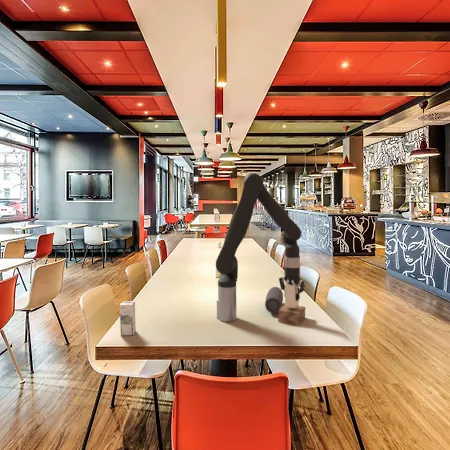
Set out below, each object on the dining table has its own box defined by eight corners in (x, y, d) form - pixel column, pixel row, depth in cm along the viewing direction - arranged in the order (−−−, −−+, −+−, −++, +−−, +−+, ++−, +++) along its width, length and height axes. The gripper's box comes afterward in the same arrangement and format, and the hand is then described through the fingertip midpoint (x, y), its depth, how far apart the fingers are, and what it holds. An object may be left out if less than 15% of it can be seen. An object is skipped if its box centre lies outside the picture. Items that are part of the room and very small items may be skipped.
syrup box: (136, 330, 161) (135, 300, 160) (133, 335, 155) (132, 304, 154) (123, 331, 161) (122, 300, 160) (120, 336, 155) (119, 304, 154)
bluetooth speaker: (282, 316, 179) (282, 297, 179) (264, 315, 181) (264, 296, 181) (283, 303, 202) (283, 286, 201) (267, 302, 204) (267, 285, 203)
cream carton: (285, 306, 172) (285, 282, 172) (289, 303, 176) (289, 280, 175) (294, 308, 169) (294, 284, 168) (298, 305, 173) (298, 282, 172)
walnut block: (278, 322, 171) (278, 310, 170) (283, 315, 181) (283, 304, 180) (300, 325, 166) (300, 313, 166) (305, 318, 176) (305, 306, 176)
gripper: (275, 265, 173) (275, 298, 174) (302, 268, 164) (302, 303, 165) (282, 263, 179) (282, 295, 180) (308, 266, 170) (308, 300, 171)
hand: (292, 299), depth 173 cm, fingers closed on cream carton, 5 cm apart
